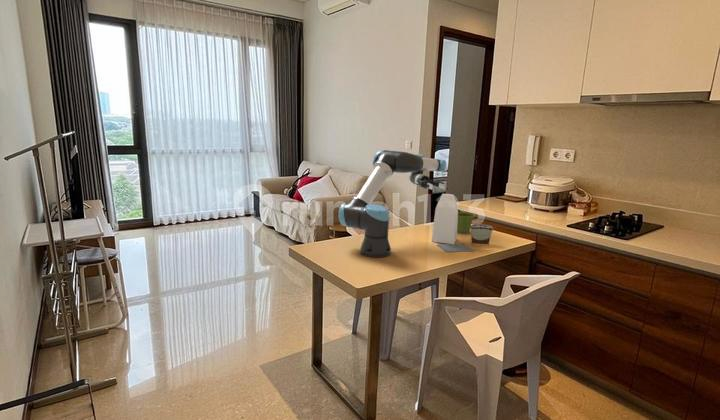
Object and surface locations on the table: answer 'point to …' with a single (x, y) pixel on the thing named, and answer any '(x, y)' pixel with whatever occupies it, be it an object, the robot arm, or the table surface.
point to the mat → (455, 247)
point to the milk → (445, 220)
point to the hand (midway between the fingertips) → (438, 187)
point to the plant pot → (464, 222)
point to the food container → (480, 234)
